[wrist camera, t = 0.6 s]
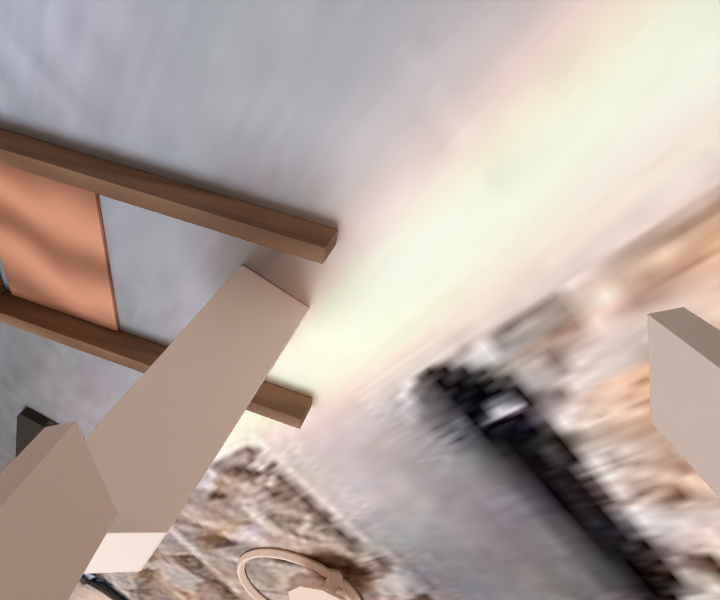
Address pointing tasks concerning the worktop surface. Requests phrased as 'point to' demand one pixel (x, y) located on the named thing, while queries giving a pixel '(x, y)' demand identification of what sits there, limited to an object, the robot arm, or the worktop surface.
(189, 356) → the milk
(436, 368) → the worktop surface
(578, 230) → the worktop surface
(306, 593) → the hand towel holder
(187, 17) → the worktop surface
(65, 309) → the bay
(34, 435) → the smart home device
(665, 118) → the worktop surface
